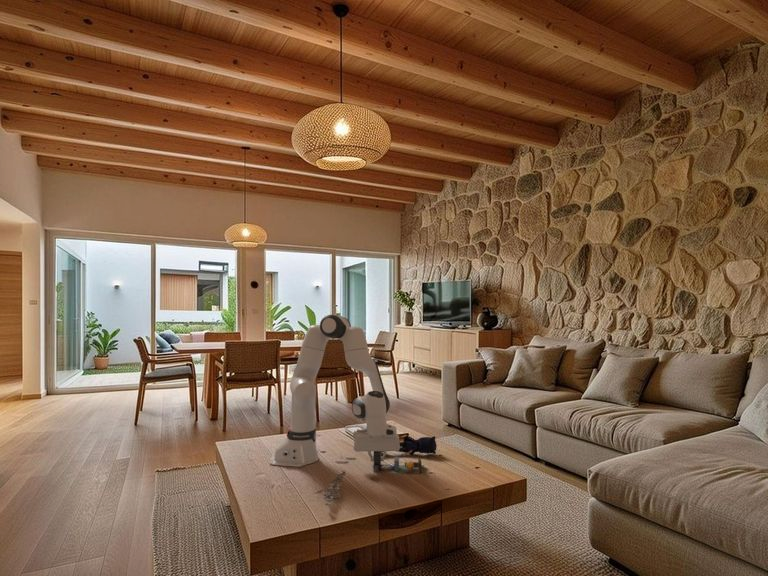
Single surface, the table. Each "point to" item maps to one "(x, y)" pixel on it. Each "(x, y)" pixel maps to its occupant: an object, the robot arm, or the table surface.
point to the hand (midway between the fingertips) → (377, 461)
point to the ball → (410, 465)
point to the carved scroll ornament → (334, 488)
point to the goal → (415, 465)
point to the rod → (385, 466)
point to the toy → (417, 445)
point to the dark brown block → (376, 468)
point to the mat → (402, 468)
